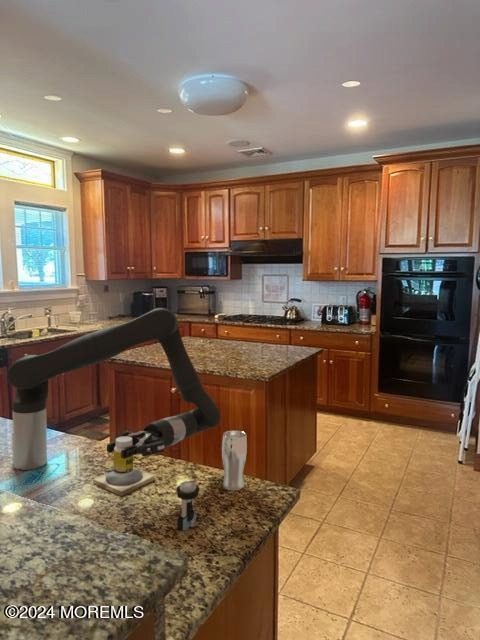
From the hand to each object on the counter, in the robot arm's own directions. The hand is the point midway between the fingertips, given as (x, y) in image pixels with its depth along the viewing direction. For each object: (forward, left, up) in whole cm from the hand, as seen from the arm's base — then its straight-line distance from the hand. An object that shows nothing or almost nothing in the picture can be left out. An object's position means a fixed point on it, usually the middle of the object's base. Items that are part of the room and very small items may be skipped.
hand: (115, 451), depth 106 cm
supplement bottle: (0, +3, -6) cm, 7 cm away
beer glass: (+14, +30, -16) cm, 37 cm away
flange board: (-12, +13, -16) cm, 24 cm away
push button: (+17, +8, -16) cm, 25 cm away
